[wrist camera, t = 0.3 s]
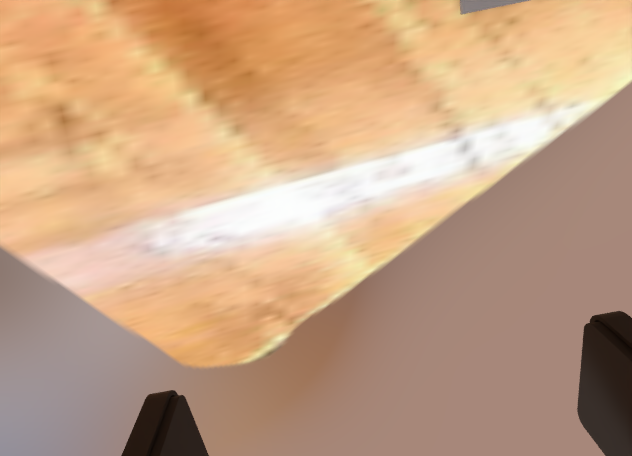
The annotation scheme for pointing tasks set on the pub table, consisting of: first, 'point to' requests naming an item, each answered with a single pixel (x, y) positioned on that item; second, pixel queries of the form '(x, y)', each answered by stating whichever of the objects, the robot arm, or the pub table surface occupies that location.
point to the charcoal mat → (484, 4)
